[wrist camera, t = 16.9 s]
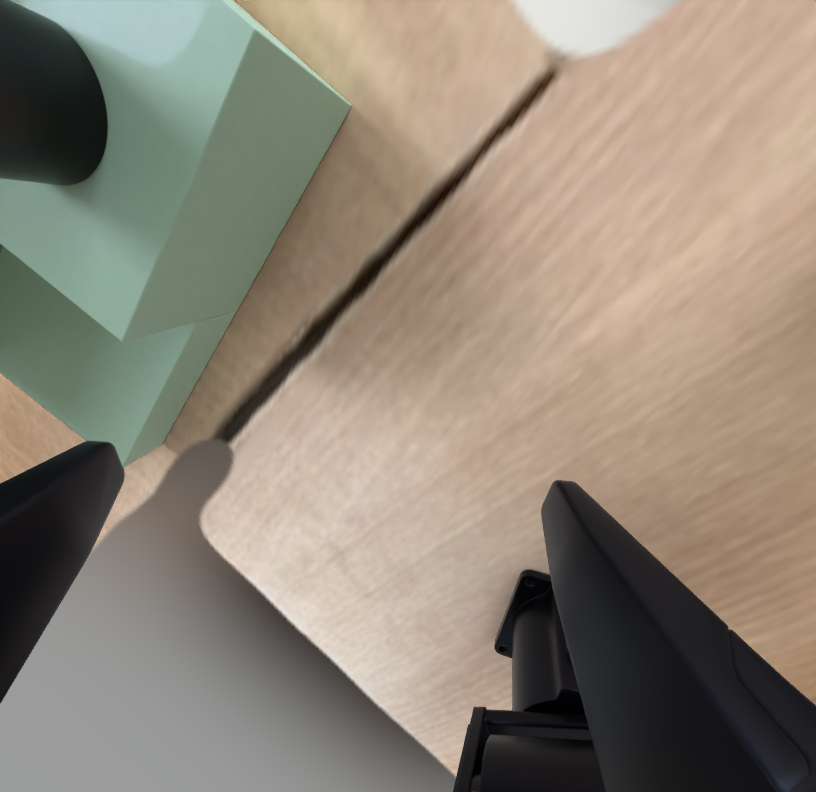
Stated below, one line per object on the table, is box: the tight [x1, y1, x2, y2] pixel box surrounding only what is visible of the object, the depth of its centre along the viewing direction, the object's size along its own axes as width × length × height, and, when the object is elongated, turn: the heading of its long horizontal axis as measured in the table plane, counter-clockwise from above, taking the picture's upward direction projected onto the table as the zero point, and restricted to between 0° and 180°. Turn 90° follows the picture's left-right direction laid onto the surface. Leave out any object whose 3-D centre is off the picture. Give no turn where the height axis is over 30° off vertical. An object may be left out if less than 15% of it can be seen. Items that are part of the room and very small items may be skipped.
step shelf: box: [0, 0, 351, 468], centre depth 17 cm, size 22×11×10 cm, turn 142°
